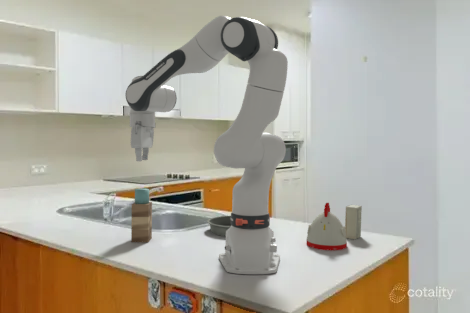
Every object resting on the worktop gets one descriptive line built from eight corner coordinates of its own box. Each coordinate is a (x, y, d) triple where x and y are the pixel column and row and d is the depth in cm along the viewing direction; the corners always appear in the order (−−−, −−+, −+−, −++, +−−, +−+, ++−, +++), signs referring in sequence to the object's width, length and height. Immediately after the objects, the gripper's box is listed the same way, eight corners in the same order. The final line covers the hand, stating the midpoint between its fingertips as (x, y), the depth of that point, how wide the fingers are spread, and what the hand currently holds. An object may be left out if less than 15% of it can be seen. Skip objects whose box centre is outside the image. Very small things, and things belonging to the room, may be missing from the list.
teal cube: (147, 204, 144) (147, 190, 144) (133, 204, 144) (133, 190, 144) (150, 202, 149) (150, 188, 149) (136, 202, 149) (136, 188, 149)
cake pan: (268, 226, 175) (268, 215, 175) (267, 239, 151) (267, 227, 151) (212, 224, 178) (212, 214, 178) (202, 237, 153) (202, 225, 153)
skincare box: (350, 235, 159) (350, 204, 159) (361, 236, 157) (362, 205, 156) (344, 238, 154) (345, 206, 154) (355, 239, 152) (356, 207, 151)
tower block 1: (148, 217, 144) (148, 204, 143) (131, 216, 143) (131, 204, 143) (151, 214, 149) (151, 201, 149) (135, 213, 149) (135, 201, 149)
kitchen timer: (302, 247, 140) (303, 204, 139) (310, 239, 152) (311, 199, 152) (344, 252, 134) (345, 207, 134) (348, 242, 147) (349, 201, 147)
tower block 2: (148, 229, 144) (148, 217, 143) (131, 229, 144) (131, 216, 143) (151, 226, 150) (151, 214, 149) (135, 226, 150) (135, 213, 149)
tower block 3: (148, 242, 144) (148, 229, 144) (131, 242, 144) (131, 229, 144) (151, 238, 150) (151, 226, 150) (135, 238, 150) (135, 226, 150)
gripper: (144, 120, 135) (144, 162, 135) (156, 123, 155) (156, 159, 156) (125, 120, 135) (125, 161, 135) (139, 123, 155) (139, 159, 156)
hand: (142, 160), depth 146 cm, fingers open, 8 cm apart
